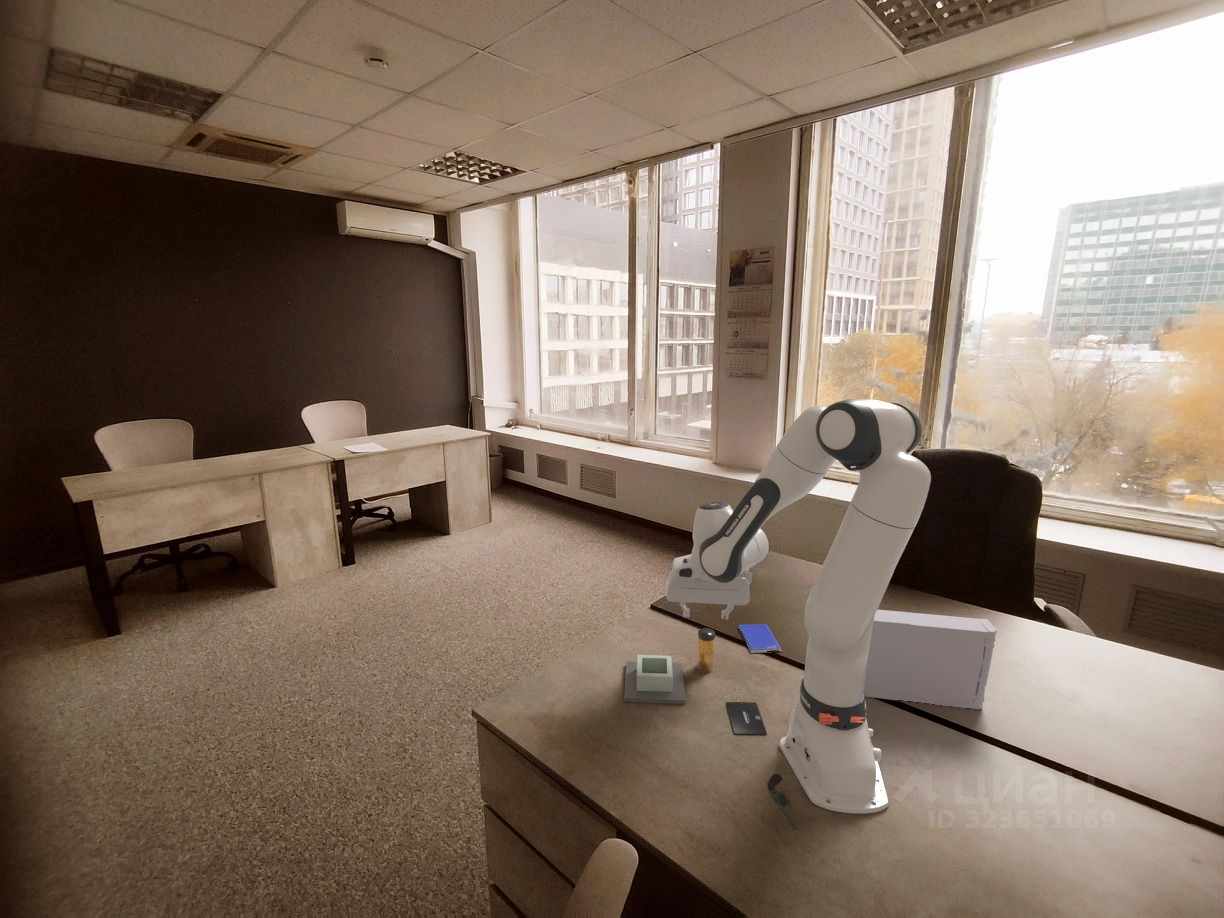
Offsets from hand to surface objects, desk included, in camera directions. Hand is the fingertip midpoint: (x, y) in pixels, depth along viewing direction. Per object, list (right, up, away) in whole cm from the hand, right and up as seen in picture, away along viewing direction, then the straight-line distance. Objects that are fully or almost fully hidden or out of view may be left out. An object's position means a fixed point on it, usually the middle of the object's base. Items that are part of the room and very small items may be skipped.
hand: (705, 617), depth 136 cm
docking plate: (-13, -15, -3) cm, 20 cm away
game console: (+48, -16, -8) cm, 51 cm away
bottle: (0, -14, +3) cm, 14 cm away
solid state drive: (+6, -19, -15) cm, 25 cm away
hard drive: (+18, -11, +16) cm, 26 cm away
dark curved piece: (+9, -24, -37) cm, 45 cm away
